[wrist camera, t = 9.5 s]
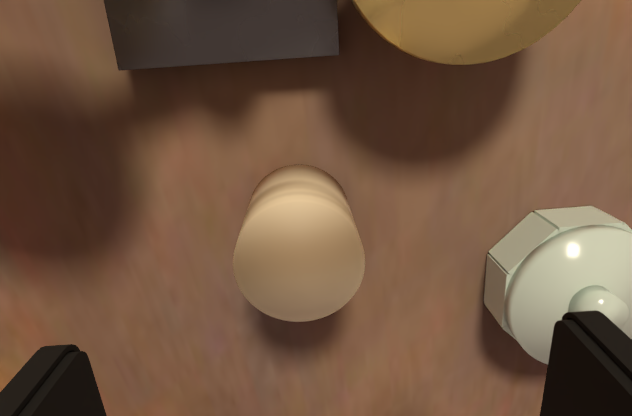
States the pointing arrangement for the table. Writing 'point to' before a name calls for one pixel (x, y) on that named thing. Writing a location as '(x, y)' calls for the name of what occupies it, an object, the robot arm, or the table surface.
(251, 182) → the table surface
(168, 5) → the balance
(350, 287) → the beige cylinder
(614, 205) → the table surface
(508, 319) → the lid
